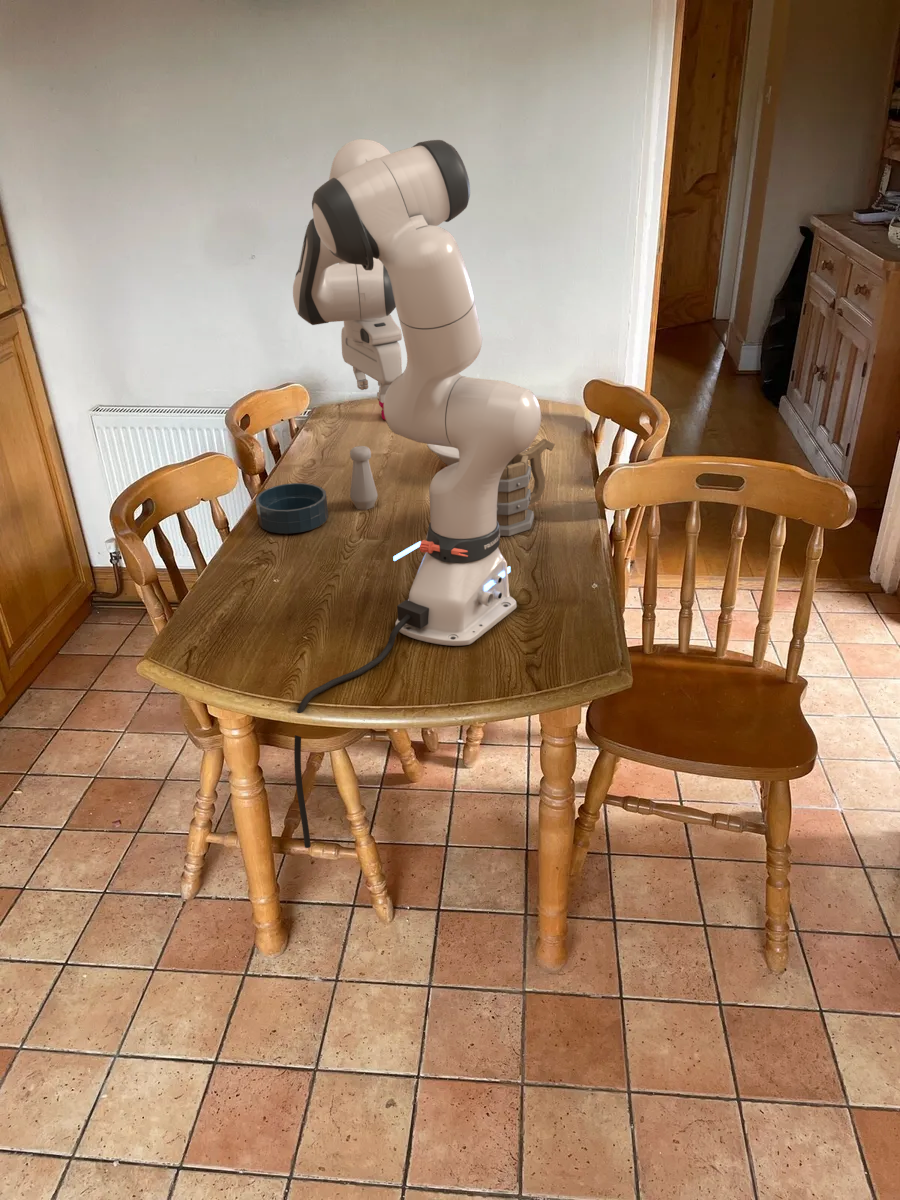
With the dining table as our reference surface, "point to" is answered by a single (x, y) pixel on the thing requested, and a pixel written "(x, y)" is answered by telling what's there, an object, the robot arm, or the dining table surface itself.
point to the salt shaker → (362, 479)
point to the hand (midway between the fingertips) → (373, 395)
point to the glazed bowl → (292, 508)
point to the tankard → (520, 490)
